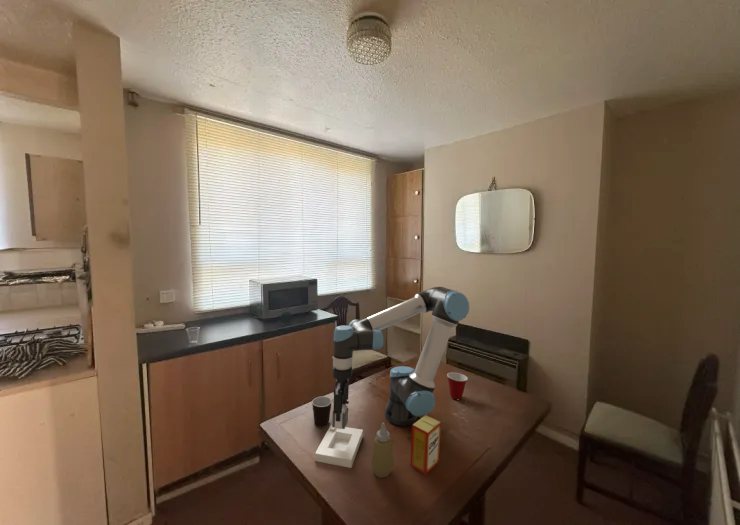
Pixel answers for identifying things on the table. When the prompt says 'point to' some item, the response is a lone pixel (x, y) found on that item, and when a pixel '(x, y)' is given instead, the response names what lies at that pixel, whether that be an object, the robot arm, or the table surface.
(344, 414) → the plug
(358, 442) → the socket plate
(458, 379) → the plastic cup
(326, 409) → the coffee mug
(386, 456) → the squeeze bottle
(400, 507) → the table surface
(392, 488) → the table surface
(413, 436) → the baking soda box
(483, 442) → the table surface
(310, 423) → the table surface
